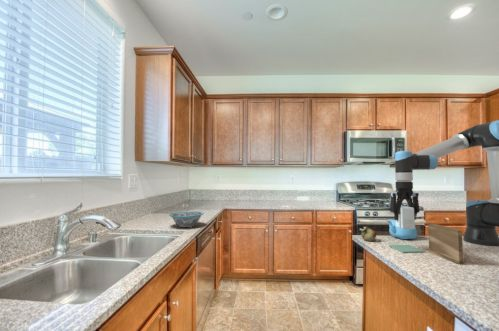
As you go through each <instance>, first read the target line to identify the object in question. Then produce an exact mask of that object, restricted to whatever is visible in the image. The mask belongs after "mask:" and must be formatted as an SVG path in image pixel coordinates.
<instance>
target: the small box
mask: <svg viewBox="0 0 499 331" xmlns="http://www.w3.org/2000/svg"><path fill="white" fill-rule="evenodd" d="M399 214H401V227H400V228H402V229H415V226H416V223H415V222H416V220H414V208H412V207H409V206H408V205H401V207H400V211H399Z"/></svg>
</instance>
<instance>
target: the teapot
mask: <svg viewBox="0 0 499 331" xmlns="http://www.w3.org/2000/svg"><path fill="white" fill-rule="evenodd" d="M386 222H387V223H388V227H389V229H388V230H389V235H391V236H393V238H399V240H401V241H402V240H403V241H405V240H414V239H417V237H418V231H417V227H416V225H415V229H402V228H400V227H397V226H396V220H395V219H392V220H391V221H390V220H386Z"/></svg>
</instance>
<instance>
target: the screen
mask: <svg viewBox="0 0 499 331" xmlns="http://www.w3.org/2000/svg"><path fill="white" fill-rule="evenodd" d="M427 226H428V227H427V229H428V249H427V250H426V252H427V253H429V254H432V255H435V256H436V257H439V258H442V259H444V258H445V260H447V261H448V262H451V263H454V264H457V265H459V264H460V265H466V264H467V262H466V261H465V260H464V248H463V246H464V245H463V244H464V243H463V242H464V240H463V230H461V229H457V228H453V227H449V226H446V225H441V224H436V223H433V222H428V223H427Z"/></svg>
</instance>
